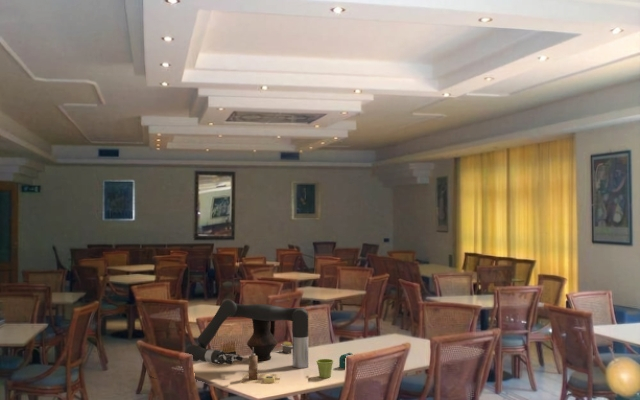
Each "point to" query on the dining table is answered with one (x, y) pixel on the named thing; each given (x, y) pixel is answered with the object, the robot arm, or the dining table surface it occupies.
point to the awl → (253, 366)
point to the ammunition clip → (228, 347)
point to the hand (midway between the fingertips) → (237, 360)
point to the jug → (263, 339)
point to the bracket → (343, 360)
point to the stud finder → (269, 379)
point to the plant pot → (325, 367)
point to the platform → (287, 346)
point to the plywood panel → (259, 378)
